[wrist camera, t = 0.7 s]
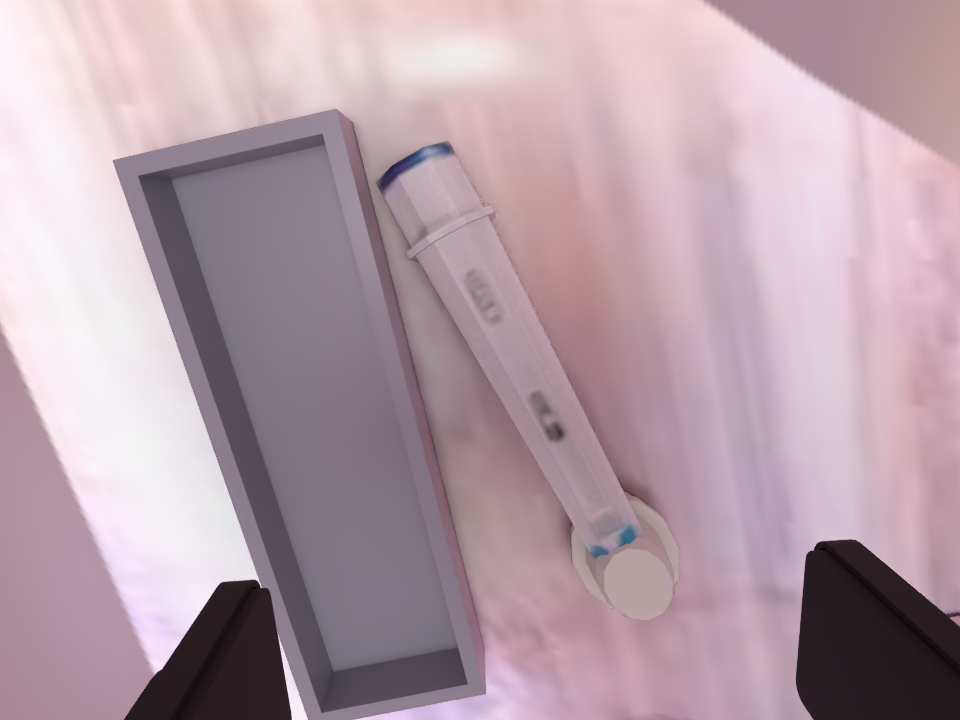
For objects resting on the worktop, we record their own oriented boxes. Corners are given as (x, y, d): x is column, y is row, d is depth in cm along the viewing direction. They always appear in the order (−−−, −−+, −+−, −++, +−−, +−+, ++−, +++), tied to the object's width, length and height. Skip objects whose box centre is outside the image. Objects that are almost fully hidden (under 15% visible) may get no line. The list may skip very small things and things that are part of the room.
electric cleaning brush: (461, 123, 24) (728, 630, 26) (471, 158, 31) (684, 561, 33) (352, 186, 25) (622, 679, 27) (385, 207, 31) (599, 601, 33)
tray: (484, 646, 35) (485, 693, 31) (326, 677, 35) (311, 727, 32) (352, 121, 28) (336, 108, 24) (156, 166, 28) (112, 160, 24)
